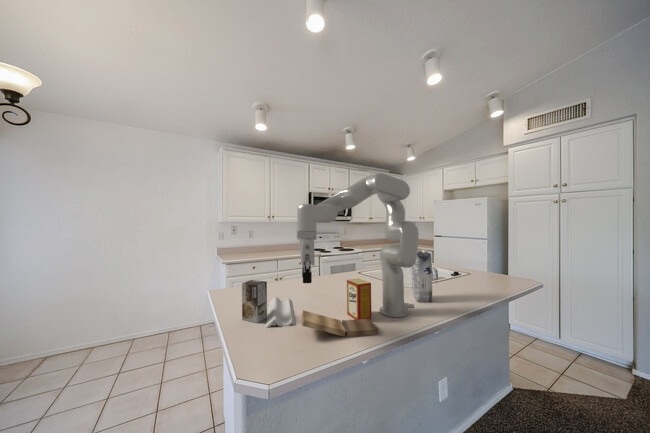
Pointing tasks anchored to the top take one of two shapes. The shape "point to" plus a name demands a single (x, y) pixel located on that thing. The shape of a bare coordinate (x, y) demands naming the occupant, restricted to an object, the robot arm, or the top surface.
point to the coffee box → (254, 301)
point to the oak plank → (322, 323)
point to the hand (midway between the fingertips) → (306, 280)
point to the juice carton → (422, 277)
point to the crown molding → (280, 313)
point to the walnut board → (359, 327)
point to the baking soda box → (359, 299)
